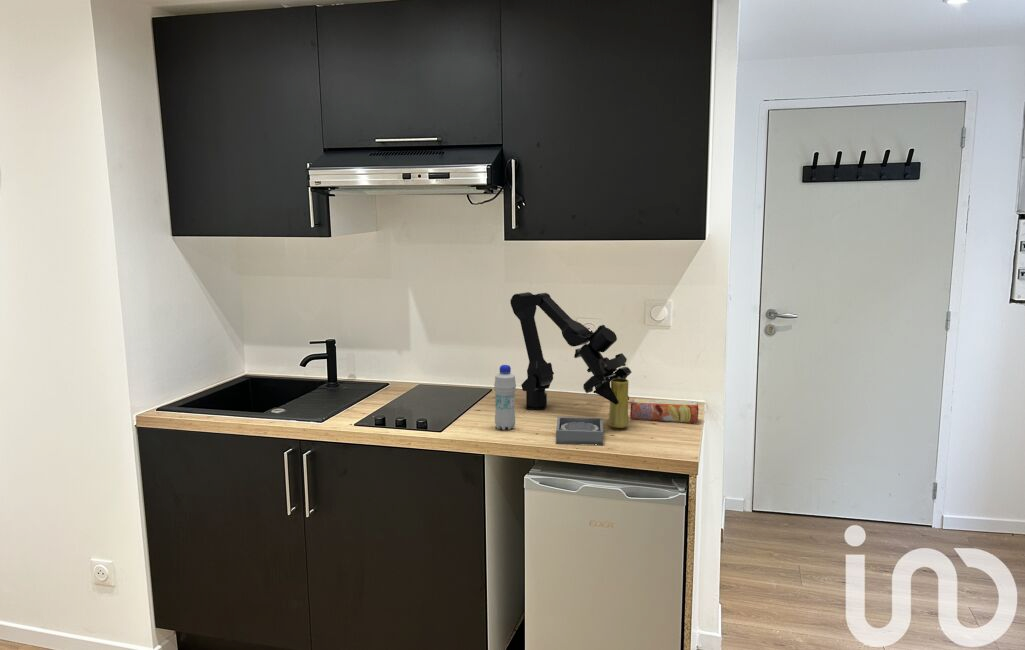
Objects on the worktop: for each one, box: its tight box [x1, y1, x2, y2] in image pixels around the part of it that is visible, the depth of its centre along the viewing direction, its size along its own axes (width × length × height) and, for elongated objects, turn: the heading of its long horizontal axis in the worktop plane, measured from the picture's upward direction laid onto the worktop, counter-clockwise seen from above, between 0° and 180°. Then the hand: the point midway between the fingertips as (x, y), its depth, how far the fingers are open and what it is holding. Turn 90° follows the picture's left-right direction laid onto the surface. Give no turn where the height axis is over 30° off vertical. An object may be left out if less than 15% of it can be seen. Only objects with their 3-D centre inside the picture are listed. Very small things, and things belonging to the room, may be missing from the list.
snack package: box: [629, 398, 700, 424], centre depth 242 cm, size 21×7×7 cm, turn 76°
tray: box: [555, 416, 604, 446], centre depth 224 cm, size 14×14×4 cm
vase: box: [607, 378, 629, 428], centre depth 232 cm, size 6×6×14 cm
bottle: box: [493, 364, 517, 431], centre depth 231 cm, size 7×7×20 cm
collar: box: [561, 422, 598, 431], centre depth 224 cm, size 11×11×2 cm
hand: (622, 401), depth 231 cm, fingers closed on vase, 5 cm apart
